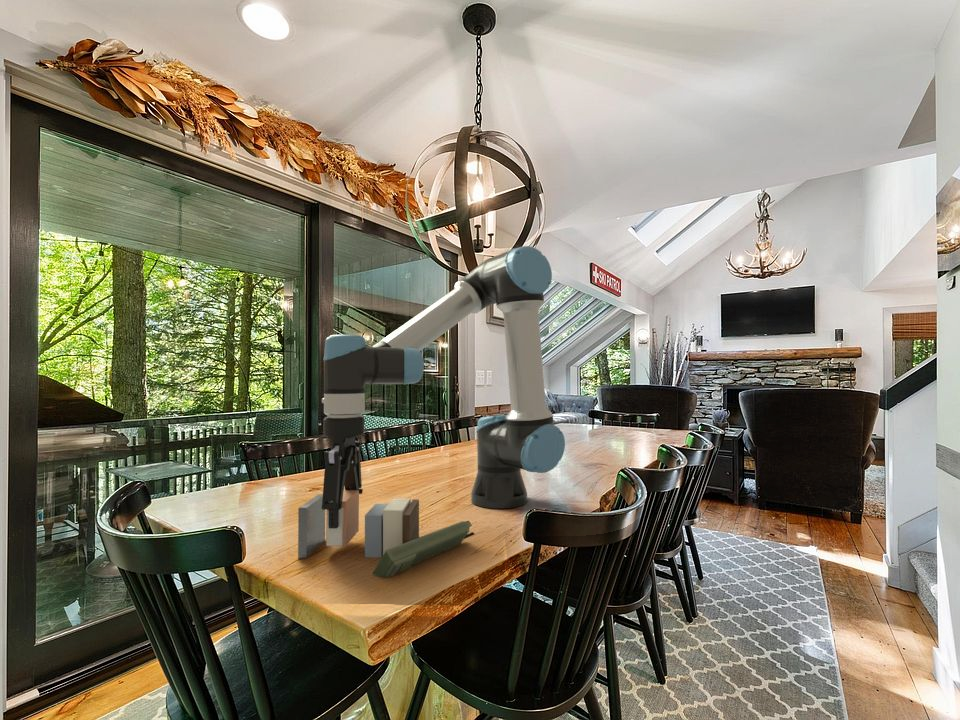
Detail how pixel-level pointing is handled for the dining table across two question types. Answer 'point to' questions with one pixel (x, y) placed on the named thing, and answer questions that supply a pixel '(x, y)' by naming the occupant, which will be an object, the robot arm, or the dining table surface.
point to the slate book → (374, 531)
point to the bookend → (310, 526)
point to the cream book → (394, 522)
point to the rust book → (349, 515)
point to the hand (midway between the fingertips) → (343, 536)
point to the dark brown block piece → (411, 522)
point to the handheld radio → (421, 549)
